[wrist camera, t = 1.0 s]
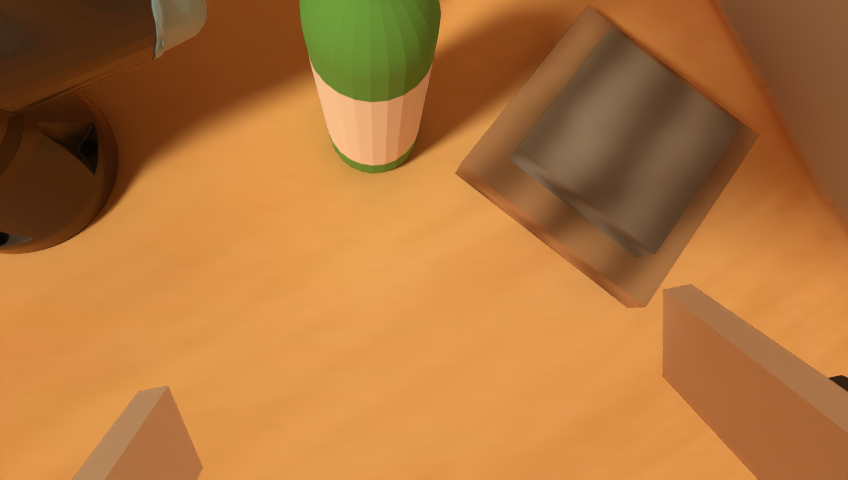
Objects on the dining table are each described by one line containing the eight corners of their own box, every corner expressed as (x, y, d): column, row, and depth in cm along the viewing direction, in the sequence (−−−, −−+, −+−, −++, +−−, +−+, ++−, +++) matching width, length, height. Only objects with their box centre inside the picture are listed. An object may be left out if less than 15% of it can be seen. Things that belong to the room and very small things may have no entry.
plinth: (455, 173, 44) (467, 151, 38) (574, 24, 48) (602, -17, 42) (627, 307, 44) (666, 306, 38) (735, 146, 47) (785, 122, 42)
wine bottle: (433, 138, 45) (541, -209, 15) (373, 194, 43) (363, -66, 14) (374, 80, 45) (367, -369, 15) (313, 134, 44) (177, -246, 14)
